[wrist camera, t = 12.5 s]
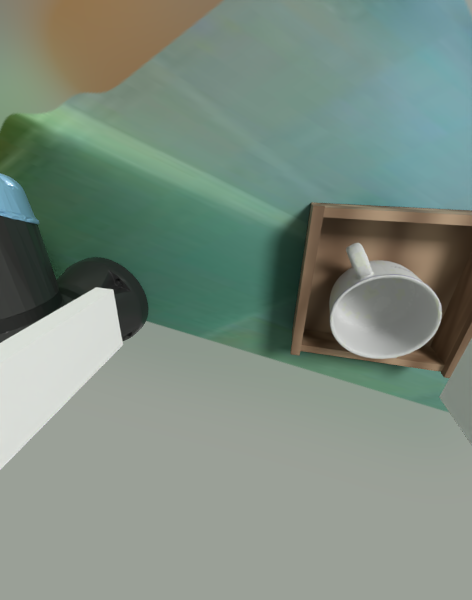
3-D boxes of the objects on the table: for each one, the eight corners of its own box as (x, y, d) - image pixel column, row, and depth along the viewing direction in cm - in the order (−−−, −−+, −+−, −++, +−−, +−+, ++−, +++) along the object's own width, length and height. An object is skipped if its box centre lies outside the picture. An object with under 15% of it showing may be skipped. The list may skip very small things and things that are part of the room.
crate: (291, 331, 41) (290, 354, 36) (310, 200, 32) (313, 205, 27) (433, 350, 37) (454, 378, 32) (496, 209, 29) (539, 217, 24)
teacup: (414, 319, 35) (443, 355, 28) (330, 331, 39) (338, 366, 31) (407, 217, 30) (441, 230, 23) (312, 241, 34) (316, 259, 26)
